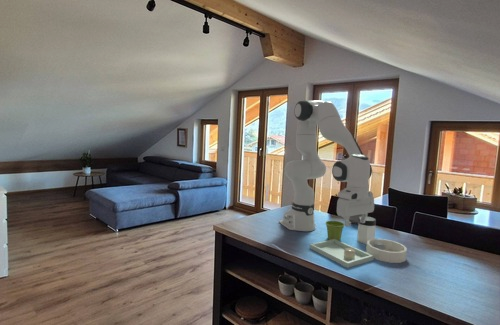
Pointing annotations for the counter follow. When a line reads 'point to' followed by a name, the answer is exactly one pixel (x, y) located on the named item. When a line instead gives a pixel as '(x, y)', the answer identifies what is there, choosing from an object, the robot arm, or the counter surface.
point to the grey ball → (379, 245)
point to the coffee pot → (353, 217)
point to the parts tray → (340, 252)
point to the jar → (366, 230)
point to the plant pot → (334, 229)
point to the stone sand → (349, 254)
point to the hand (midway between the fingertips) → (355, 224)
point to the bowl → (387, 251)
